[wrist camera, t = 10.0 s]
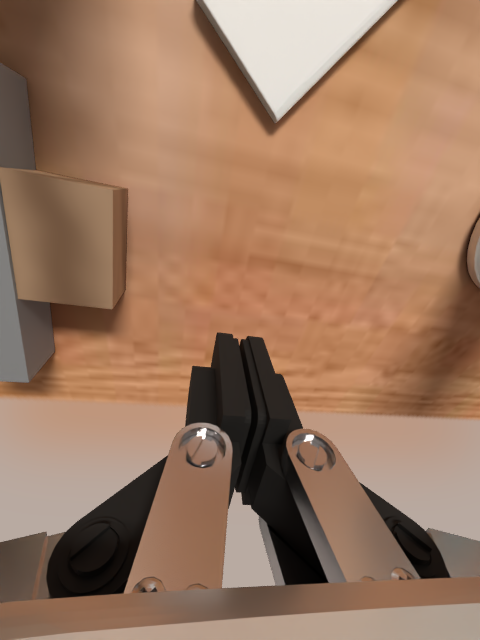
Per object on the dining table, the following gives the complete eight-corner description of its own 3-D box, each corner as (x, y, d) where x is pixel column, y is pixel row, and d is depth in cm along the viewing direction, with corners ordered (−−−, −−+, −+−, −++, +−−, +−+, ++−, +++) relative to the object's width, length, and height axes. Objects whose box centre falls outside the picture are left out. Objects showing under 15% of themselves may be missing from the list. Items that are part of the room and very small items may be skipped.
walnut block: (128, 188, 21) (112, 189, 17) (126, 288, 24) (112, 309, 20) (38, 170, 19) (-2, 167, 15) (49, 278, 23) (18, 298, 19)
